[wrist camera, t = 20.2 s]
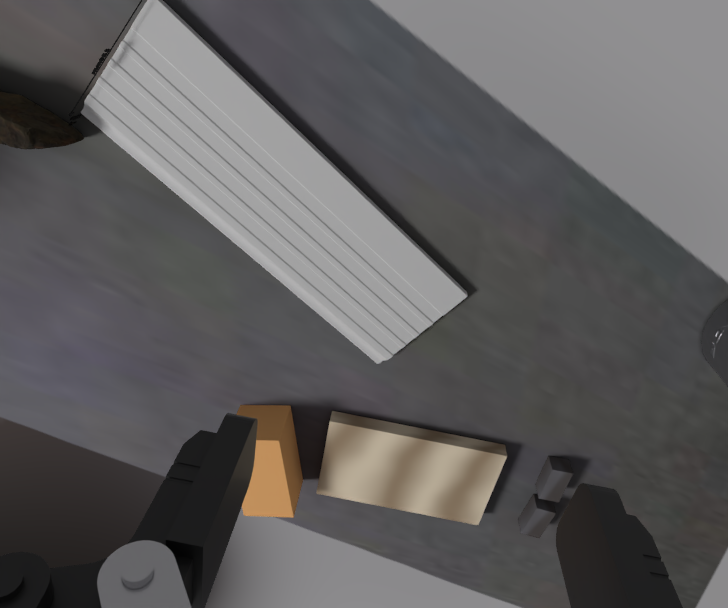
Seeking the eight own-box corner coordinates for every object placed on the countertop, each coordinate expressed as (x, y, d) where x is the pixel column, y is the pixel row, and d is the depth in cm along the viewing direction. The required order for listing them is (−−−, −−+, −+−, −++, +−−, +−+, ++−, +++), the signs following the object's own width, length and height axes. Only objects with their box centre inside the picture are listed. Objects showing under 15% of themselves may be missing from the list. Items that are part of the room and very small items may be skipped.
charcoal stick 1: (547, 454, 52) (568, 458, 52) (534, 482, 54) (554, 486, 54) (552, 469, 50) (573, 473, 50) (538, 498, 52) (558, 502, 52)
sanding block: (290, 404, 52) (278, 440, 48) (303, 478, 57) (293, 517, 53) (241, 403, 53) (224, 439, 48) (257, 477, 57) (244, 515, 53)
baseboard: (367, 367, 50) (466, 287, 45) (364, 387, 47) (469, 304, 42) (76, 124, 41) (160, -7, 36) (54, 132, 38) (140, -8, 34)
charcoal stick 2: (533, 492, 55) (551, 497, 55) (517, 517, 57) (535, 522, 57) (536, 508, 53) (556, 513, 53) (520, 533, 55) (539, 538, 55)
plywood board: (505, 444, 52) (507, 456, 50) (476, 513, 57) (478, 525, 55) (332, 410, 52) (329, 421, 50) (318, 482, 57) (316, 493, 55)
